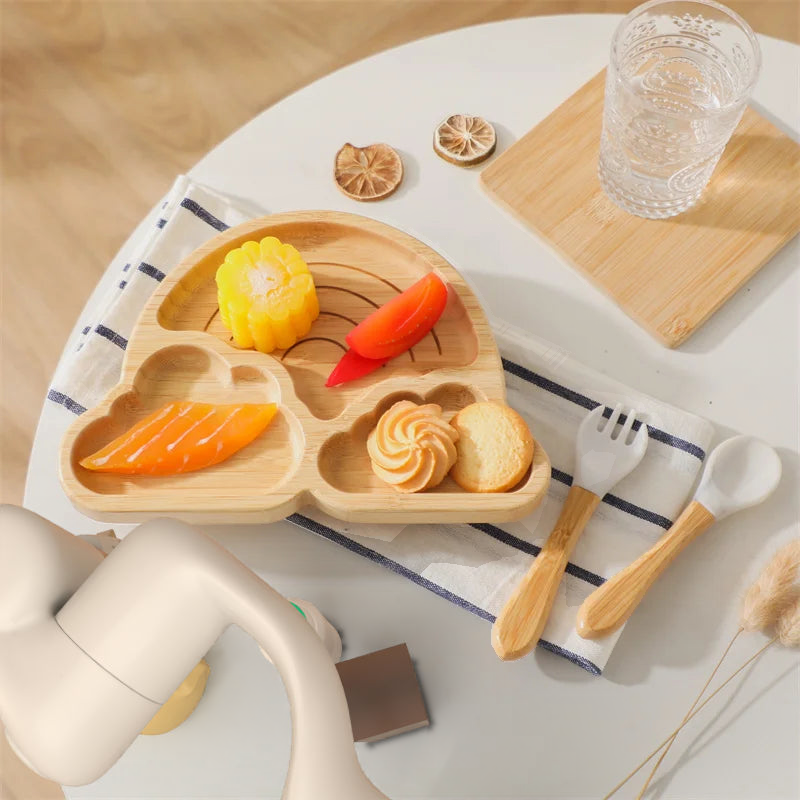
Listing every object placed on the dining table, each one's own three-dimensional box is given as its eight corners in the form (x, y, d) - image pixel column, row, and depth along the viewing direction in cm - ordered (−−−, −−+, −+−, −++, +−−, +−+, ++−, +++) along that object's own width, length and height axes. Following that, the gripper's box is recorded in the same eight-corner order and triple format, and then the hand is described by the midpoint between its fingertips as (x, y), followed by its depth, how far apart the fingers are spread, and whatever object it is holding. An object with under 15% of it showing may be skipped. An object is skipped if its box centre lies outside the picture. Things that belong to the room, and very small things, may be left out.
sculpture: (233, 663, 109) (213, 655, 99) (173, 754, 106) (146, 756, 96) (158, 612, 111) (131, 599, 101) (97, 699, 108) (62, 695, 98)
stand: (429, 724, 106) (427, 719, 81) (371, 742, 105) (352, 742, 81) (412, 664, 108) (405, 642, 84) (356, 681, 108) (332, 664, 83)
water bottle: (320, 607, 111) (289, 571, 88) (354, 656, 109) (331, 632, 85) (272, 643, 110) (228, 616, 86) (305, 692, 107) (269, 678, 84)
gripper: (147, 716, 56) (213, 721, 73) (102, 463, 61) (173, 522, 79) (26, 752, 55) (121, 748, 72) (-8, 493, 61) (88, 546, 78)
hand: (148, 630), depth 75 cm, fingers closed on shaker, 4 cm apart
